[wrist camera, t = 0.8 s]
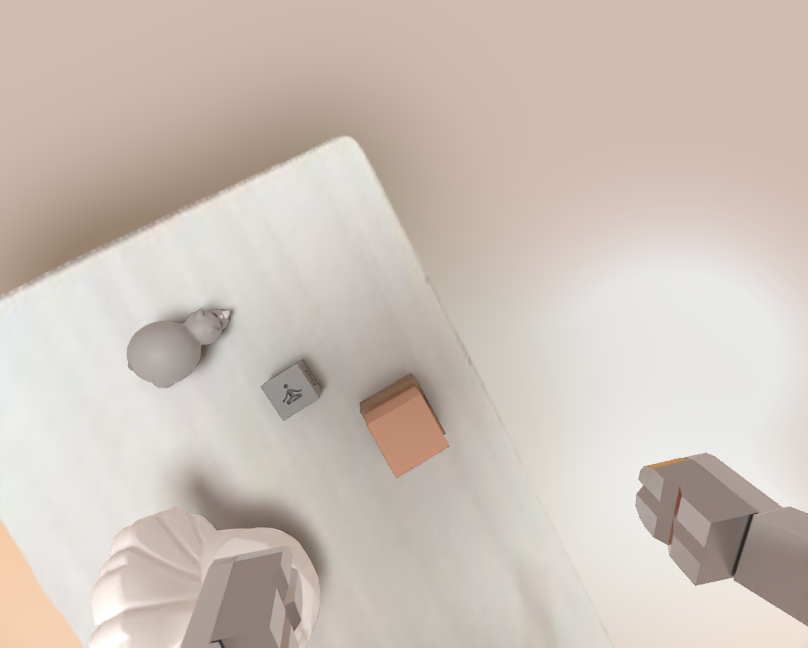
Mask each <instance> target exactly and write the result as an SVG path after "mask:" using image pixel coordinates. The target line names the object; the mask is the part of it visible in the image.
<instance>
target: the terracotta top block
mask: <svg viewBox="0 0 808 648" xmlns="http://www.w3.org/2000/svg"><path fill="white" fill-rule="evenodd" d="M365 416H366V425H367V427H368V429H369V431H370V432H371V434H372V436H373V438H374V439H375V441H376V443H377V445H378V447H379V448H380V450H381V452H382V454H383V455H384V457H385V459H386V461H387V463H388V464H389V466H390V468H391V470H392V471H393V473H394V475H395V477H396V478H398V477H399V476H401V475H403V474H404V473H406V472H408V471H409V470H411V469H413V468H414V467H416V466H418V465H420V464H421V463H423V462H425V461H426V460H428V459H430V458H431V457H433V456H435V455H436V454H438V453H440V452H441V451H443V450H445V449H446V448H448V447H450V446H449V444H448V443H447V441H446V439H445V437H444V435H443V433H442V431H441V430H440V428H439V426H438V424H437V422H436V420H435V419H434V417H433V415H432V413H431V411H430V409H429V408H428V406H427V404H426V402H425V400H424V398H423V397H422V395H421V393H420V392H419V391H418V390H417V389H416V387H415V386H413V387H411V388H409V389H408V390H406V391H404V392H402V393H401V394H399V395H397V396H395V397H394V398H392V399H390V400H388V401H387V402H385V403H383V404H381V405H379V406H378V407H376V408H374V409H372V410H371V411H369V412H367V413H365Z"/></svg>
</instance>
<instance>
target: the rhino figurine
mask: <svg viewBox="0 0 808 648" xmlns="http://www.w3.org/2000/svg"><path fill="white" fill-rule="evenodd" d="M229 315H230V311H228V310H227V311H223V310H219V309H216V310H212V311H203V310H202V309H199V310H198V311H197V312H194V313H192V314H191V315H190V316H189V317H188V318H187V320H186V321H185V322H184V323H176V322H172V321H159V322H154V323H151V324H148V325H146V326H144V327H143V328H141V329H140V330H139V331H137V332H136V333H135V334H134V336H133V337H132V338H131V340H130V342H129V345H128V348H127V360H128V367H129V369H131V370H132V371H134V372H135V374H136V375H138V376H139V377H140V378H142V379H144V380H146V381H148V382H151V383H153V384H154V385H155V386H156V387H159V388H168V387H170V386H172V385H173V384H174V383H175V382H177V381H180V380H182V379H184V378H185V377H187V376H188V375H189V374H191V373H192V372H193V371H194V369H195V368H196V367H197V365H198V363H199V361H200V357H201V346H202V345H208V344H211V343H213V342H215V341H217V340H218V339H219V338H220V336H221V334H222V330H223V329H224V328H226V326H227V325H228V323H229V321H230V320H229V318H228V317H229Z"/></svg>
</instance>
